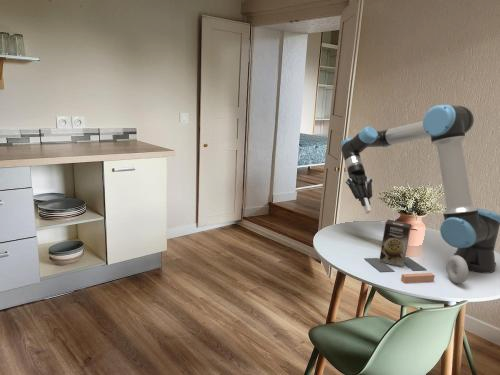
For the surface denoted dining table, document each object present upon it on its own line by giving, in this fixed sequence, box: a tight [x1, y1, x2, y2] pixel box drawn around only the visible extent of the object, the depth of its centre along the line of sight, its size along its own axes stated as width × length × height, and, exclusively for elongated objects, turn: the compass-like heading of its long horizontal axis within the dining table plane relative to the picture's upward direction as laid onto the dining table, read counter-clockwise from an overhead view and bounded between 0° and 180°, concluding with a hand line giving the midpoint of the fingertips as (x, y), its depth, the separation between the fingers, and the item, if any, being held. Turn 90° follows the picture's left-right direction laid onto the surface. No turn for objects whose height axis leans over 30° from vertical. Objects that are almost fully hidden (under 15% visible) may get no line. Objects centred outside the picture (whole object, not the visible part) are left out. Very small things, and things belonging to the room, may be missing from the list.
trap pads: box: [364, 256, 428, 273], centre depth 153 cm, size 20×12×1 cm, turn 103°
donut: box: [445, 254, 469, 284], centre depth 141 cm, size 10×4×10 cm, turn 4°
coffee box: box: [378, 219, 412, 268], centre depth 153 cm, size 9×6×16 cm
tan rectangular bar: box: [400, 272, 435, 284], centre depth 140 cm, size 12×2×2 cm, turn 103°
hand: (368, 212), depth 173 cm, fingers closed
